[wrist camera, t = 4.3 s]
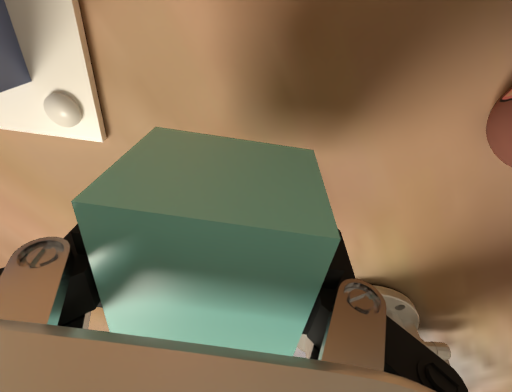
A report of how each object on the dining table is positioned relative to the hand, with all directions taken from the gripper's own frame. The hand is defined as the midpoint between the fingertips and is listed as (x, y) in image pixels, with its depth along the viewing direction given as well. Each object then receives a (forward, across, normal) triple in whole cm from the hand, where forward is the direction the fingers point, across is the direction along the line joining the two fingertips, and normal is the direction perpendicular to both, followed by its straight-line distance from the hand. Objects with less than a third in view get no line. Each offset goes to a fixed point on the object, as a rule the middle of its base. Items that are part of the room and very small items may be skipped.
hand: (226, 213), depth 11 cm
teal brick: (+1, 0, 0) cm, 1 cm away
